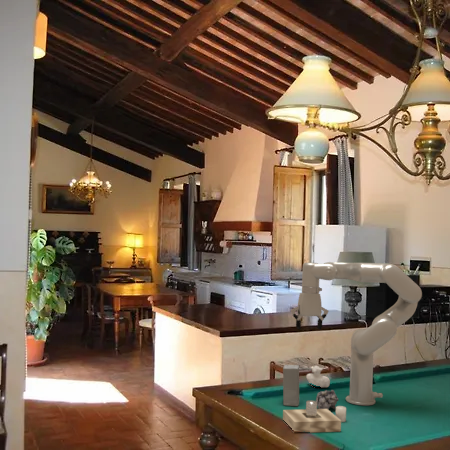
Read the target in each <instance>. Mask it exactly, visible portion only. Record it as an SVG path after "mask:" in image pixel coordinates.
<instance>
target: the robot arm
mask: <svg viewBox="0 0 450 450" xmlns="http://www.w3.org/2000/svg"><path fill="white" fill-rule="evenodd" d="M301 275H302V276H301V277H302V278H301V280H302V281H301V292H300V293H299V296H298V299H297V300H298V301H297V306H296V307H294V308H291V309H290V312H291V315H292V317H293V318H294V319H295V328H296V329H297V330H301V328H302V326H301V325H302V324H301V323H302V321H301V318H303V317H317V318H318V319H317V322H316V323H317V325H316V326H317V327H316V329H317V330H322V328H323V321H324V320H325V318H326V317H327V315H328V313H329V310H328V309H327V308H325V307H323V306H322V297H321V293H320V292H322V291H323V288H321V287H320V280H322V281H333V280H350V281H354V282H357V283H378V284H380V283H382V284H383V283H384V284H387V286H388V287H389V288H390V289H392V290H393V292H394V293H395V294H397V295H398V299H397V301H396V302H395V303H394V304H393V305H392V306H390V307H389V308H388V309H386V310H385V311H384V312H382V313H381V314H379V315H377V316H376V317H375V318H374V319H373V321H372V323H371V325H370V326H369V327H367V328H358V329H356V330H355V331H354V332H353V333H352V335H351V338H350V372H349V373H350V375H349V395H347V396H346V397H345V400H346V402H347V403H350V404H352V405H355V406H356V405H358V406H373V405H375V404H376V399H377V398H383V396H384V395H383V393H382V392H377V391H373V375H374V372H373V371H374V353H375V352H376V351H377V350H379V349H380V348H382V347H383V346H384V345H386V344H388V343H389V342H390V341H391V340H393V338H395V336H396V335H397V331H398V328H399V327H401V326H402V325H403V324H405V323H406V322H407V321H408V320H409V319H411V317H413V315H414V314H415V312H416V309H417V307H418V303H419V302H420V300H421V299H422V297H423V292H422V289H421V287H420V286H419V285H418V284H417V283H416V282H415V281H413V279H412V278H411V277H409V276H408V274H406V273H405V272H404V271H403V270H402V269H401V268H400V267H399V266H397V265H395V264H394V263H385V262H384V263H383V262H380V263H379V262H335V261H334V262H331V261H329V262H324V263H317V262H304V263H303V264H302V274H301ZM322 312H323V313H322ZM296 313H297V314H296Z"/></svg>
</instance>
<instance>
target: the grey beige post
mask: <svg viewBox="0 0 450 450" xmlns="http://www.w3.org/2000/svg"><path fill="white" fill-rule="evenodd" d="M305 403H306V404H305V409H306V418H317V409H318V407H317V402H316V400H306V402H305Z"/></svg>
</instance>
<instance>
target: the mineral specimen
mask: <svg viewBox="0 0 450 450" xmlns="http://www.w3.org/2000/svg"><path fill="white" fill-rule="evenodd" d="M316 394H317V395H316V399H315V401H316V402H317V409H328V410H329V409H333V410H336V404H337V402H339V398H338V396H337V394H336V392H335V390H334V389H331V390H327V389H326V390H324V391H321V390H320V392H318V393H316Z"/></svg>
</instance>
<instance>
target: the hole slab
mask: <svg viewBox="0 0 450 450" xmlns="http://www.w3.org/2000/svg"><path fill="white" fill-rule="evenodd" d="M283 420H284V421H285V422H286V423H287V424H288V425H289V426H290V427H291V428H292V430H294V431H305V432H310V433H332V432H333V433H334V432H341V431H342V422H341V420H340V419H339V418H337V417H336V414H334V413H333V412H331V410H329V408H328V409H319V408H317V418H306V408H305V409H283V410H282V421H283ZM284 421H283V422H284ZM285 422H284V423H285ZM286 423H285V424H286ZM287 424H286V425H287ZM288 425H287V426H288ZM292 430H291V431H292Z"/></svg>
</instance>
